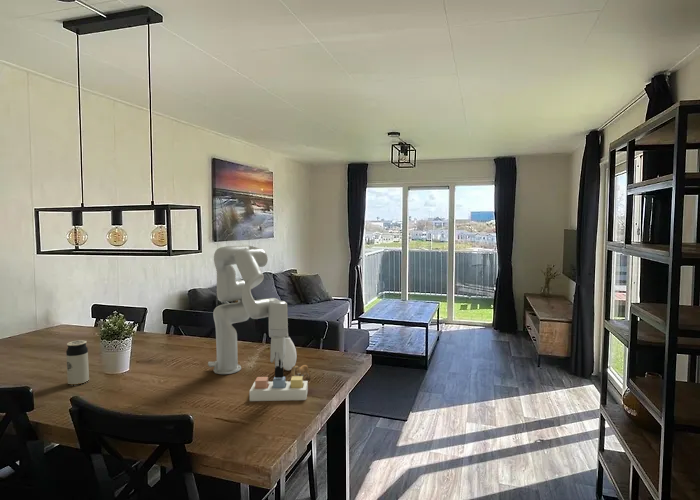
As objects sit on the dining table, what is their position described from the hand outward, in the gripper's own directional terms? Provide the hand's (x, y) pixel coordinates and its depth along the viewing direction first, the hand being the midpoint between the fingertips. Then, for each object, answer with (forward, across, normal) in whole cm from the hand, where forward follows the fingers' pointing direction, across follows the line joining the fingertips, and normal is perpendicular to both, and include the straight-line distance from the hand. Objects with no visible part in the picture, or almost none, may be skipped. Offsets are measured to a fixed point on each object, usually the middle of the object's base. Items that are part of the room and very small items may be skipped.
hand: (279, 376), depth 174 cm
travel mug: (+8, -19, -91) cm, 93 cm away
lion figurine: (+8, -14, +8) cm, 18 cm away
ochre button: (+5, 0, +7) cm, 8 cm away
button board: (+8, 0, 0) cm, 8 cm away
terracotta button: (+5, 0, -7) cm, 8 cm away
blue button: (+5, 0, 0) cm, 5 cm away
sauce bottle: (+8, -31, 0) cm, 32 cm away
